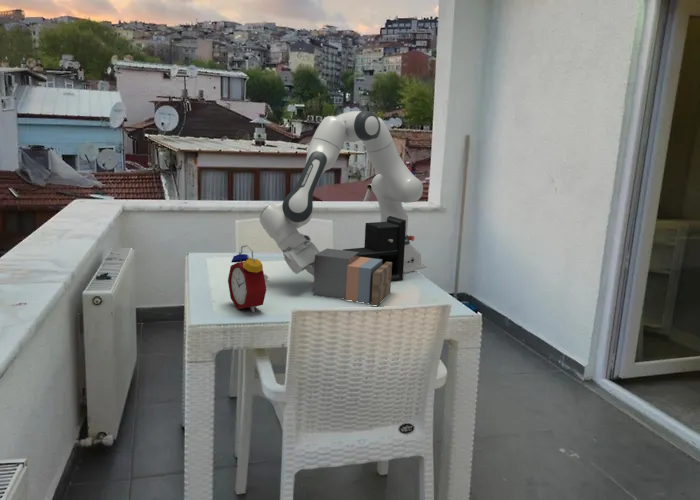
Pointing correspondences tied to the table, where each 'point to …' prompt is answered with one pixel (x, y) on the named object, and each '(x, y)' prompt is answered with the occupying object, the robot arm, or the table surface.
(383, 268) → the walnut end board
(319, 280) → the iron bookend
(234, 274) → the alarm clock
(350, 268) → the terracotta book
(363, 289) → the slate-blue book
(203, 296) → the table surface
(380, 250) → the bookend
